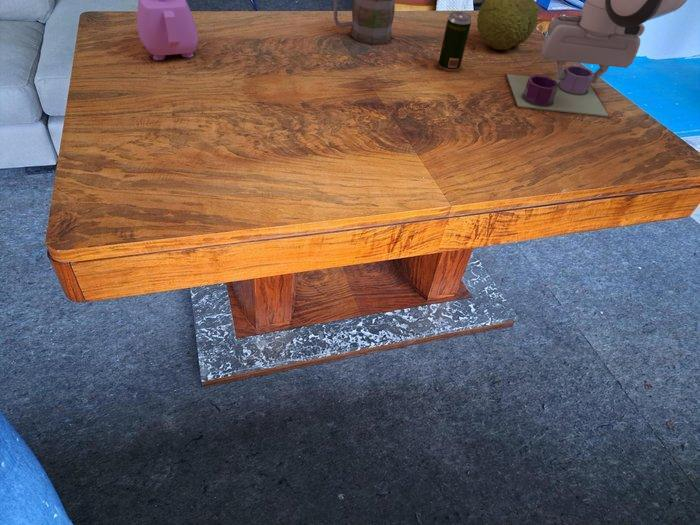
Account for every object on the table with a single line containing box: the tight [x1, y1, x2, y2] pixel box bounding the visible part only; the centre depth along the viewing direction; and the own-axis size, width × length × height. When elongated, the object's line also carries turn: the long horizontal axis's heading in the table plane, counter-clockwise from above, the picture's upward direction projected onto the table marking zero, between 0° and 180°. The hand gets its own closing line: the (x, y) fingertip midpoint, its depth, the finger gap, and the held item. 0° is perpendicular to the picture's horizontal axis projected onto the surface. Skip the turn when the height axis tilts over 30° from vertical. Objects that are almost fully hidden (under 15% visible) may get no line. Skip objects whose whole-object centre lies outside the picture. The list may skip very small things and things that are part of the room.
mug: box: [333, 0, 396, 45], centre depth 129 cm, size 16×11×12 cm
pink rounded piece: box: [136, 0, 199, 61], centre depth 112 cm, size 20×12×13 cm, turn 24°
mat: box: [506, 73, 610, 118], centre depth 117 cm, size 20×16×1 cm
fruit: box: [476, 0, 540, 51], centre depth 131 cm, size 16×14×15 cm
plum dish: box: [524, 75, 559, 106], centre depth 112 cm, size 6×6×4 cm
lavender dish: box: [559, 65, 594, 94], centre depth 118 cm, size 6×6×4 cm
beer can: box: [438, 10, 472, 73], centre depth 119 cm, size 5×5×12 cm
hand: (575, 80), depth 118 cm, fingers closed on lavender dish, 6 cm apart
